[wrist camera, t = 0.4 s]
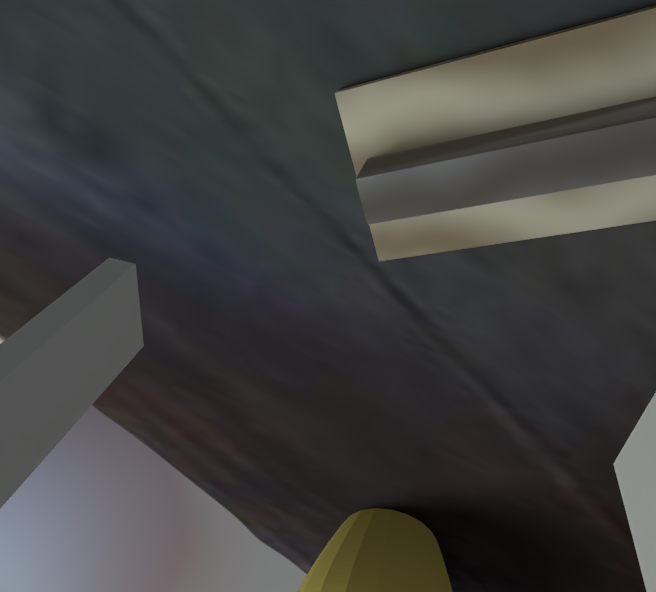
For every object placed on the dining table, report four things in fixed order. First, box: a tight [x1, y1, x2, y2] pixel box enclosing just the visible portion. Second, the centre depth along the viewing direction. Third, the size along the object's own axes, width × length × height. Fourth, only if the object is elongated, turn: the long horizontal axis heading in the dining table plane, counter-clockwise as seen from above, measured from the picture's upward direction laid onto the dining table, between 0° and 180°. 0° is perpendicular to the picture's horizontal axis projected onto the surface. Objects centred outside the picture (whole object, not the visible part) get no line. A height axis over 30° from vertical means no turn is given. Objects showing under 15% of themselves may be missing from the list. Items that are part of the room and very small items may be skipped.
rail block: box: [335, 5, 656, 261], centre depth 32 cm, size 12×22×5 cm, turn 107°
